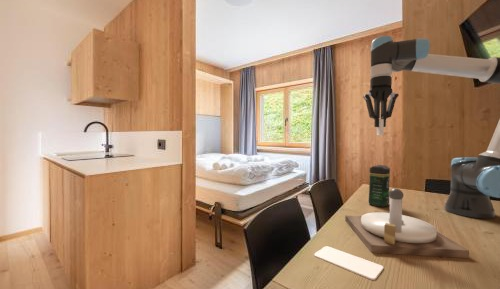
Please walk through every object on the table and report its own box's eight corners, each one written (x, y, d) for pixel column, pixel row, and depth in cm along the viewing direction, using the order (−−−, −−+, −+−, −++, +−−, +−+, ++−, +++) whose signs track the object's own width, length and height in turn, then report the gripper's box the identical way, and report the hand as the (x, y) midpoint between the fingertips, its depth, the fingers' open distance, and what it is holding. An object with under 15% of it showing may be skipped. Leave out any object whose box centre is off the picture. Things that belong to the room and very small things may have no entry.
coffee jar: (385, 208, 101) (386, 166, 100) (366, 204, 106) (367, 165, 106) (391, 204, 108) (392, 165, 107) (373, 200, 113) (373, 163, 113)
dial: (365, 214, 86) (365, 176, 86) (432, 225, 75) (433, 182, 75) (356, 232, 70) (356, 186, 69) (440, 250, 58) (442, 195, 58)
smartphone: (326, 245, 65) (384, 266, 55) (326, 248, 65) (384, 269, 55) (312, 254, 60) (374, 279, 50) (312, 257, 60) (374, 282, 50)
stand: (413, 223, 83) (414, 204, 83) (468, 258, 59) (469, 231, 59) (345, 220, 86) (345, 202, 86) (371, 252, 62) (371, 227, 62)
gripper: (393, 79, 95) (392, 135, 96) (360, 80, 97) (359, 135, 97) (403, 74, 88) (401, 135, 88) (367, 75, 89) (366, 135, 90)
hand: (379, 135), depth 93 cm, fingers closed
